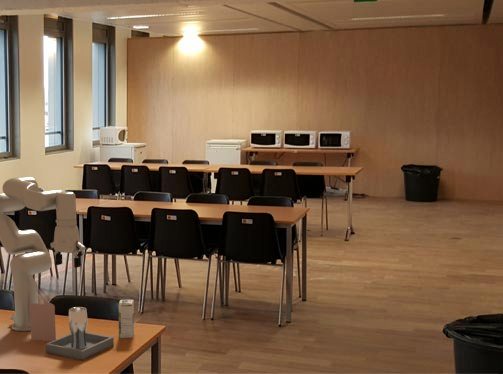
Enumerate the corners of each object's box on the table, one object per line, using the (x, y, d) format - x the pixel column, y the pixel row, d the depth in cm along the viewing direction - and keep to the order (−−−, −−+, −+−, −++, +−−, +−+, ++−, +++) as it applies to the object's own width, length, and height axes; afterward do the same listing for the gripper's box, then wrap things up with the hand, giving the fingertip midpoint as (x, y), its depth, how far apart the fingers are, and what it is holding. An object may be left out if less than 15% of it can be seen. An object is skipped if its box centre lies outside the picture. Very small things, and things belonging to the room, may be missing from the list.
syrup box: (120, 333, 295) (119, 299, 294) (134, 333, 296) (133, 299, 294) (118, 338, 290) (117, 303, 288) (133, 338, 290) (132, 303, 288)
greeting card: (58, 341, 287) (56, 304, 285) (39, 345, 282) (38, 308, 280) (47, 334, 296) (45, 298, 294) (29, 337, 291) (27, 301, 289)
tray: (46, 352, 274) (45, 344, 273) (78, 338, 289) (78, 330, 289) (82, 360, 265) (82, 351, 265) (113, 345, 281) (113, 337, 280)
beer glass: (83, 350, 273) (82, 312, 272) (66, 349, 275) (65, 311, 273) (91, 344, 280) (89, 307, 278) (74, 343, 282) (73, 306, 280)
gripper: (43, 223, 284) (45, 265, 286) (77, 226, 275) (78, 270, 278) (57, 220, 290) (58, 261, 292) (90, 223, 282) (91, 266, 284)
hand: (68, 265), depth 285 cm, fingers open, 9 cm apart
